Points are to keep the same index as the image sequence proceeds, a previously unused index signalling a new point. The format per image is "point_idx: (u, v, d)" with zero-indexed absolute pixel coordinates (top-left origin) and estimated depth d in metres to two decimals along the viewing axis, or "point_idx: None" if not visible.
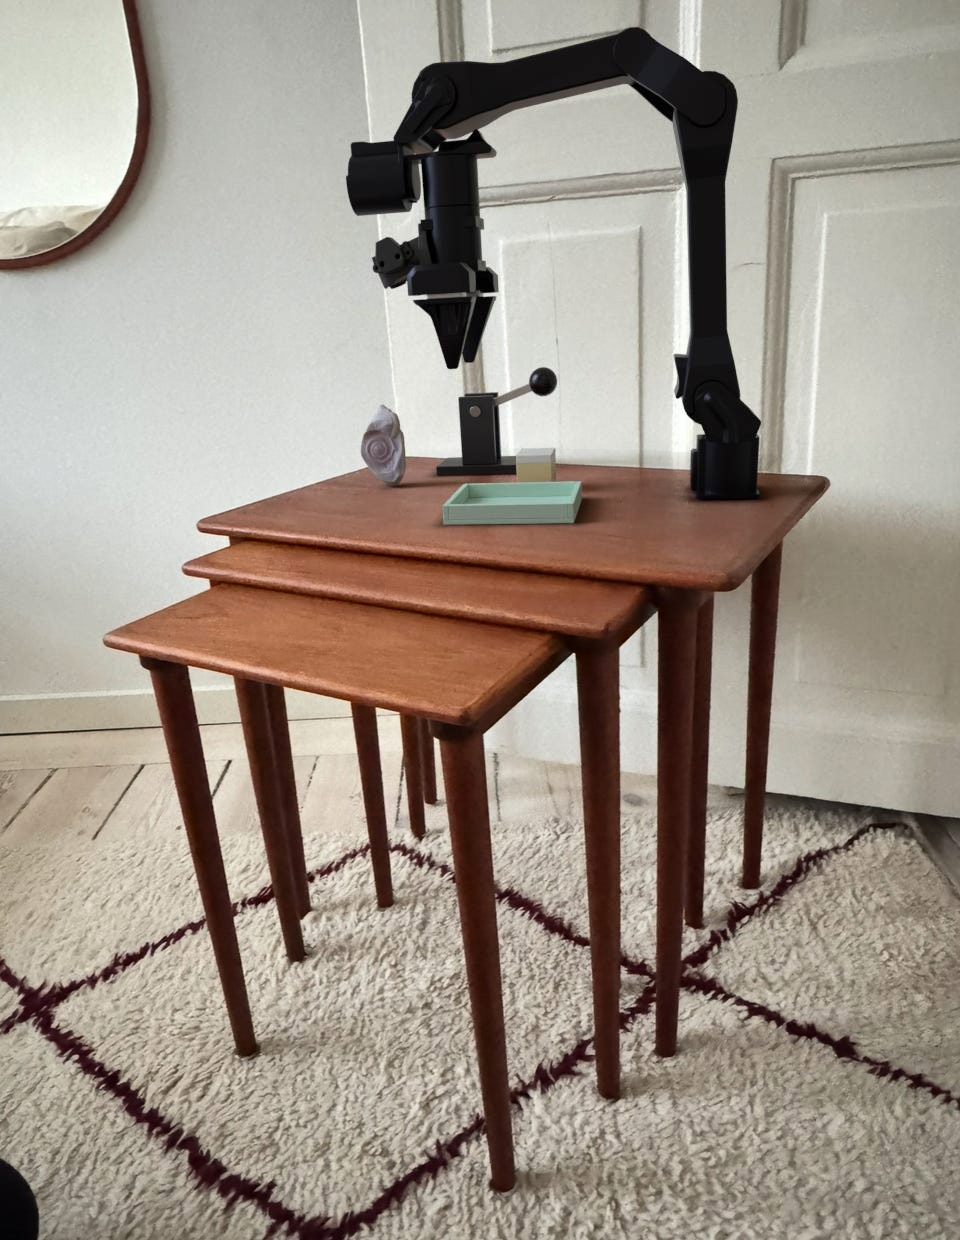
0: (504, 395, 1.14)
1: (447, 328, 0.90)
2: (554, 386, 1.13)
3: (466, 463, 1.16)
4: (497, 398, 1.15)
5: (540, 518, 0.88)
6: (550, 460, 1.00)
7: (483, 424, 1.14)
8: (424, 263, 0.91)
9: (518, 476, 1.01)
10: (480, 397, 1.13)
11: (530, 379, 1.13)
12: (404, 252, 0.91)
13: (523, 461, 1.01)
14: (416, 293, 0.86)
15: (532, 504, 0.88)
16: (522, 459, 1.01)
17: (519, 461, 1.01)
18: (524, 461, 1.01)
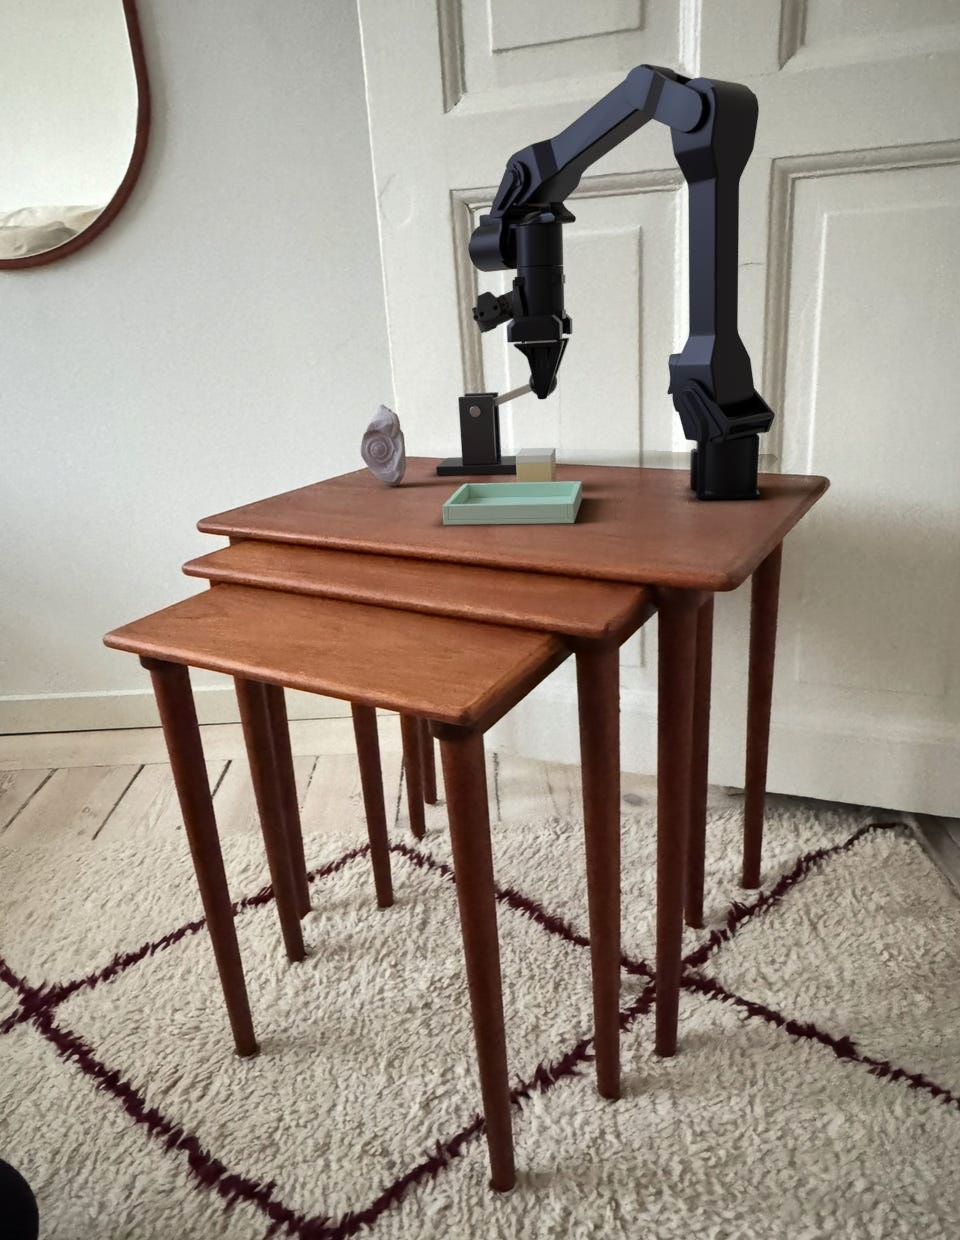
0: (504, 395, 1.14)
1: (539, 366, 1.10)
2: (554, 386, 1.13)
3: (466, 463, 1.16)
4: (497, 398, 1.15)
5: (540, 518, 0.88)
6: (550, 460, 1.00)
7: (483, 424, 1.14)
8: (517, 313, 1.08)
9: (518, 476, 1.01)
10: (480, 397, 1.13)
11: (530, 379, 1.13)
12: (500, 304, 1.08)
13: (523, 461, 1.01)
14: (515, 340, 1.03)
15: (532, 504, 0.88)
16: (522, 459, 1.01)
17: (519, 461, 1.01)
18: (524, 461, 1.01)
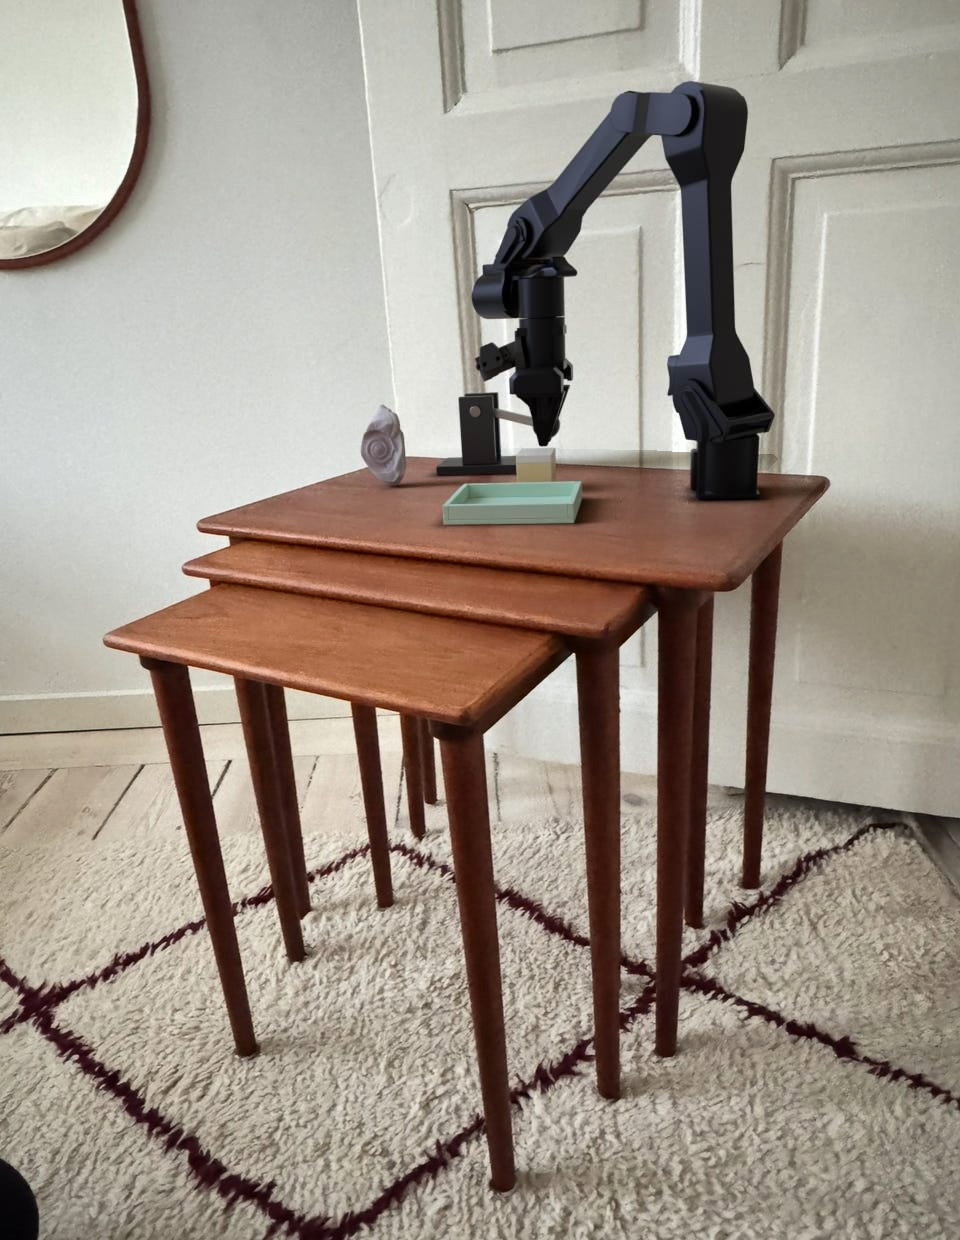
0: (507, 413, 1.15)
1: (540, 415, 1.12)
2: (552, 435, 1.15)
3: (466, 463, 1.16)
4: (500, 411, 1.15)
5: (540, 518, 0.88)
6: (550, 460, 1.00)
7: (483, 424, 1.14)
8: (519, 363, 1.10)
9: (518, 476, 1.01)
10: (480, 397, 1.13)
11: None
12: (503, 354, 1.10)
13: (523, 461, 1.01)
14: (517, 393, 1.05)
15: (532, 504, 0.88)
16: (522, 459, 1.01)
17: (519, 461, 1.01)
18: (524, 461, 1.01)
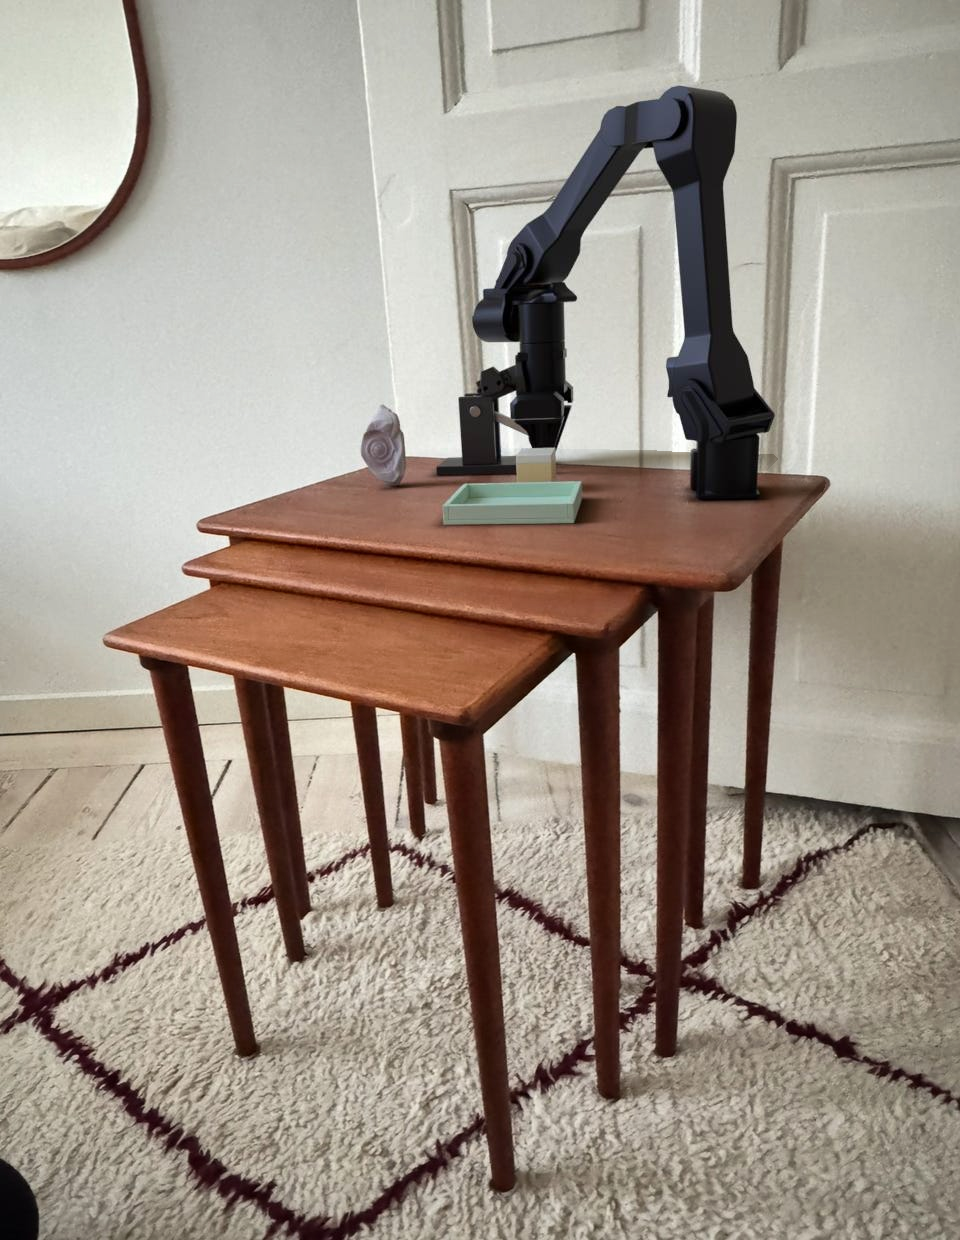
0: (506, 418, 1.15)
1: (539, 440, 1.11)
2: None
3: (466, 463, 1.16)
4: (499, 415, 1.15)
5: (540, 518, 0.88)
6: (550, 460, 1.00)
7: (483, 424, 1.14)
8: (519, 387, 1.11)
9: (518, 476, 1.01)
10: (480, 397, 1.13)
11: None
12: (504, 379, 1.11)
13: (523, 461, 1.01)
14: (518, 417, 1.06)
15: (532, 504, 0.88)
16: (522, 459, 1.01)
17: (519, 461, 1.01)
18: (524, 461, 1.01)
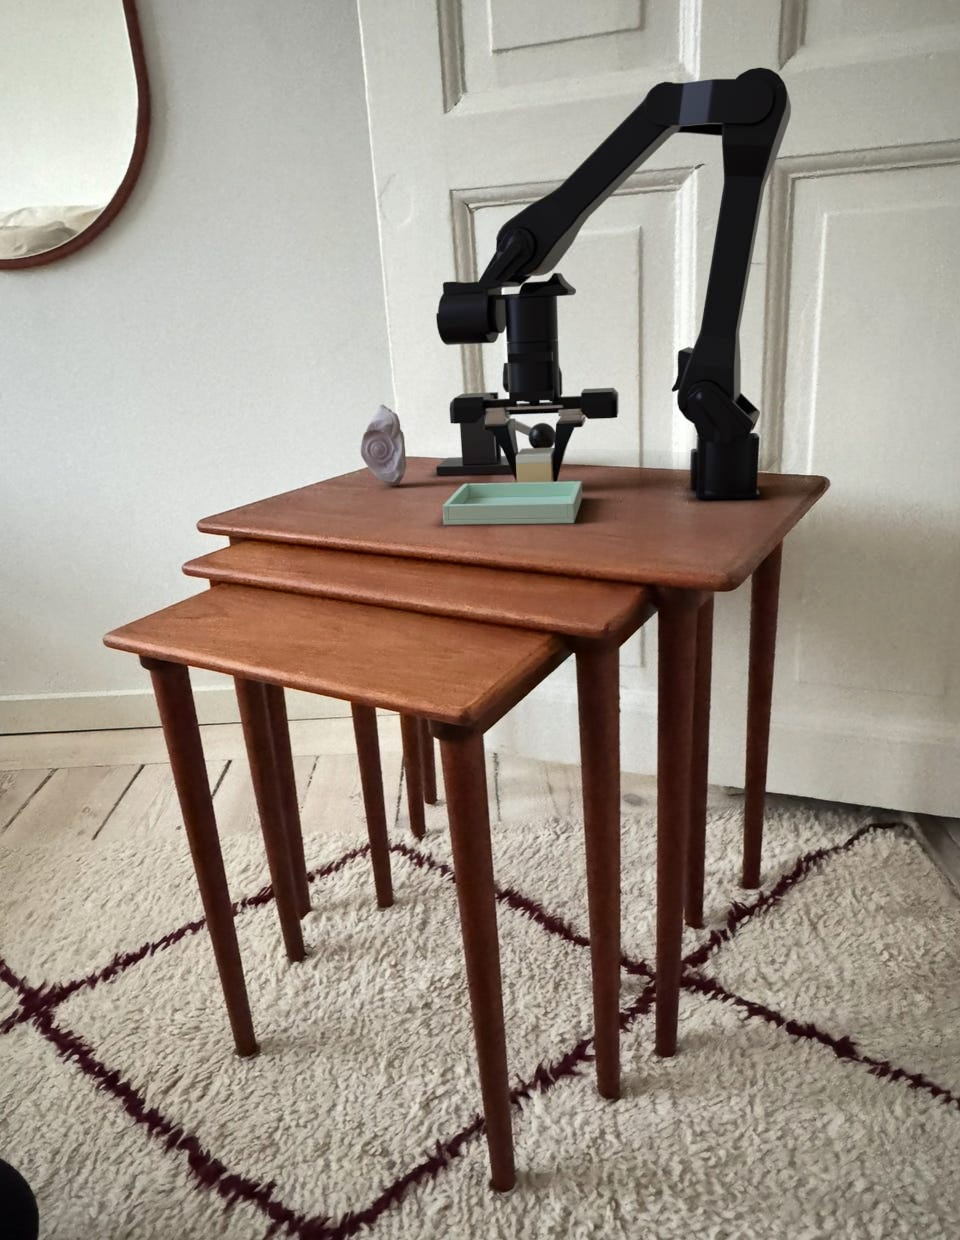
0: None
1: None
2: None
3: (466, 463, 1.16)
4: None
5: (540, 518, 0.88)
6: (550, 460, 1.00)
7: (483, 424, 1.14)
8: None
9: (518, 476, 1.01)
10: None
11: (535, 427, 1.15)
12: None
13: (523, 461, 1.01)
14: None
15: (532, 504, 0.88)
16: (522, 459, 1.01)
17: (519, 461, 1.01)
18: (524, 461, 1.01)
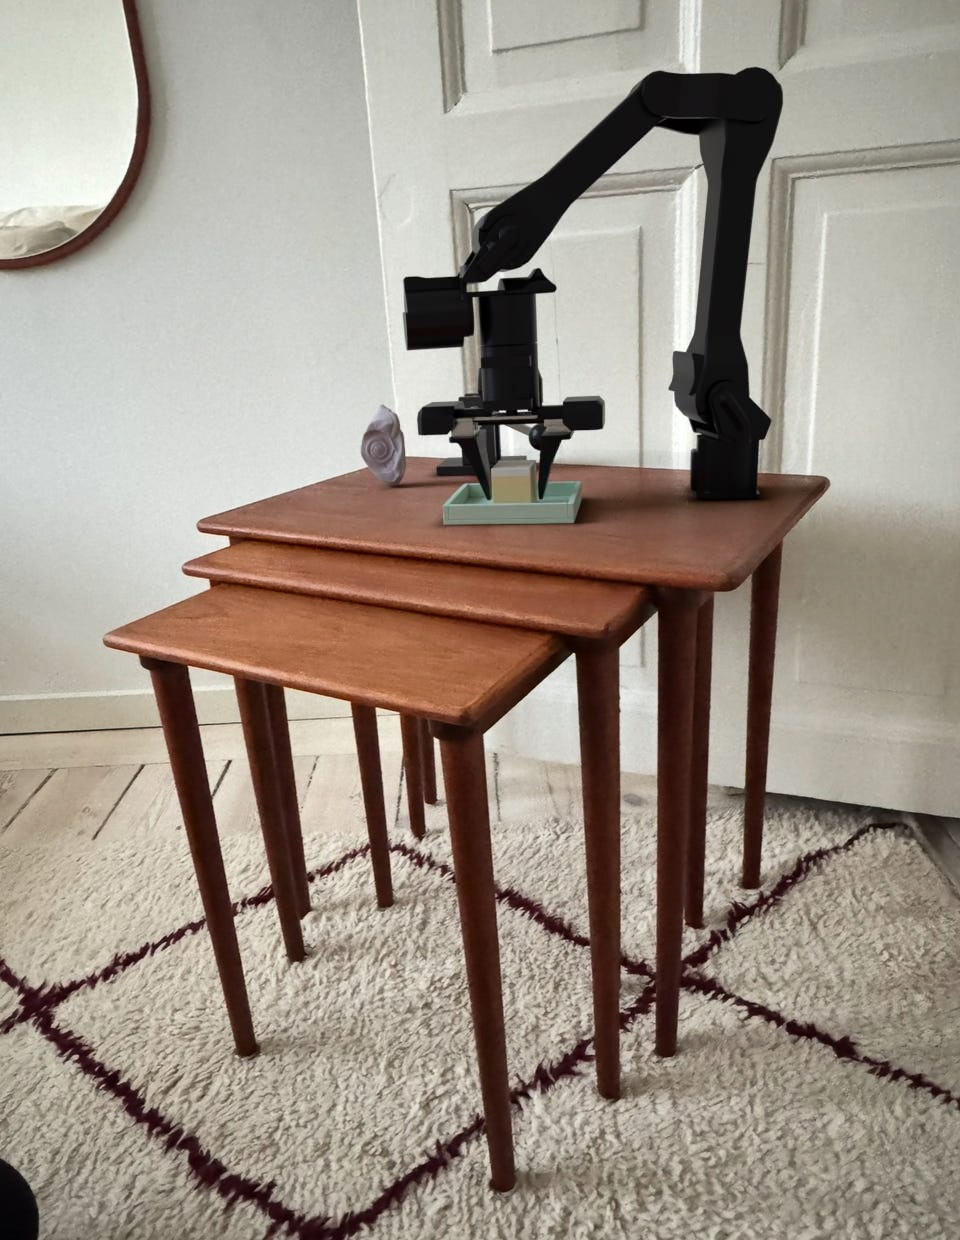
0: None
1: None
2: None
3: (466, 463, 1.16)
4: None
5: (540, 518, 0.88)
6: (529, 474, 0.90)
7: None
8: None
9: (494, 492, 0.91)
10: None
11: (535, 427, 1.15)
12: None
13: (499, 475, 0.91)
14: None
15: (532, 504, 0.88)
16: (498, 472, 0.91)
17: (495, 475, 0.91)
18: (501, 476, 0.91)
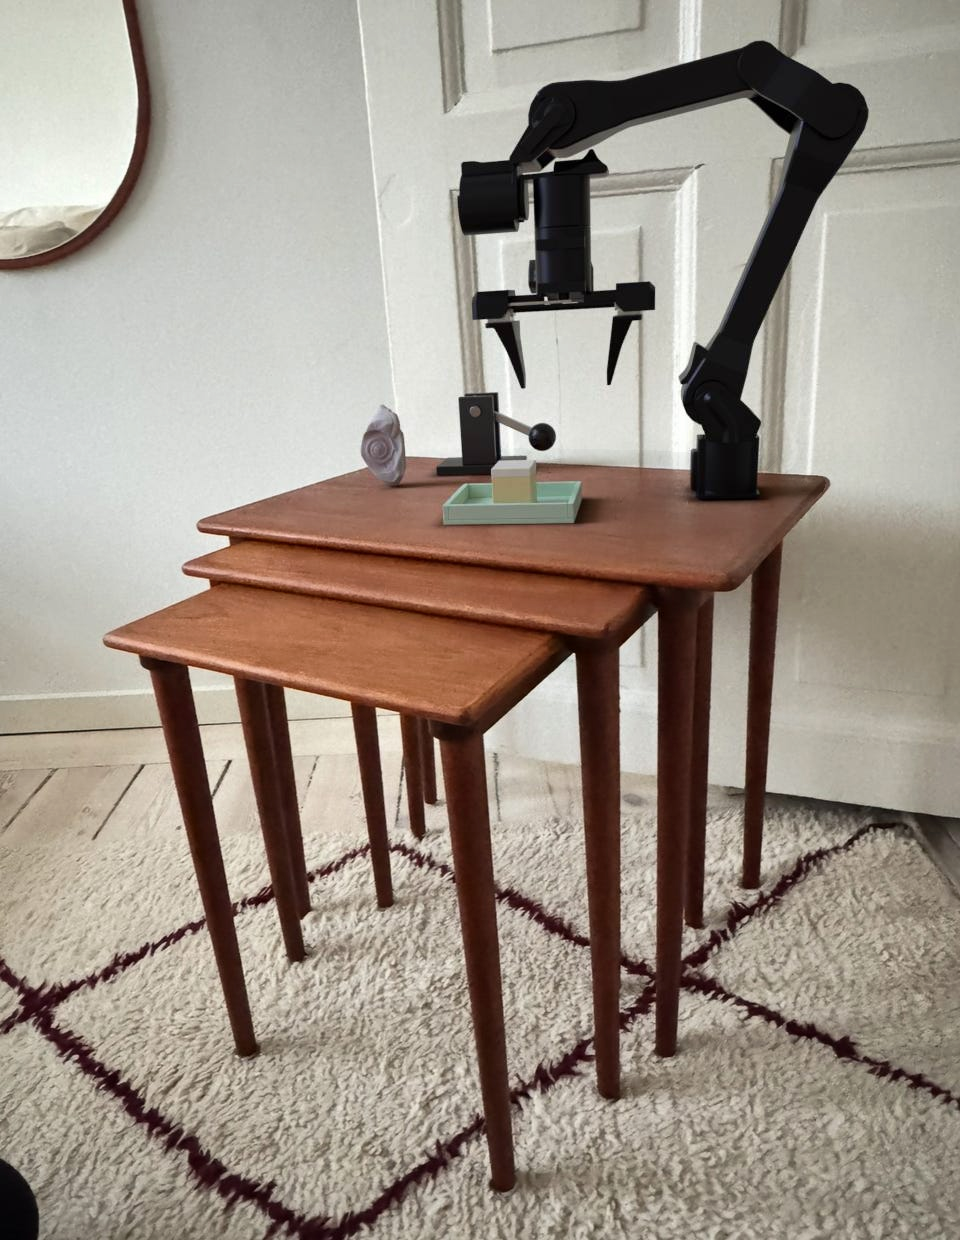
0: (506, 418, 1.15)
1: None
2: (546, 449, 1.16)
3: (466, 463, 1.16)
4: (499, 415, 1.15)
5: (540, 518, 0.88)
6: (529, 474, 0.90)
7: (483, 424, 1.14)
8: None
9: (494, 492, 0.91)
10: (480, 397, 1.13)
11: (535, 427, 1.15)
12: (535, 274, 0.97)
13: (499, 475, 0.91)
14: None
15: (532, 504, 0.88)
16: (498, 472, 0.91)
17: (495, 475, 0.91)
18: (501, 476, 0.91)
